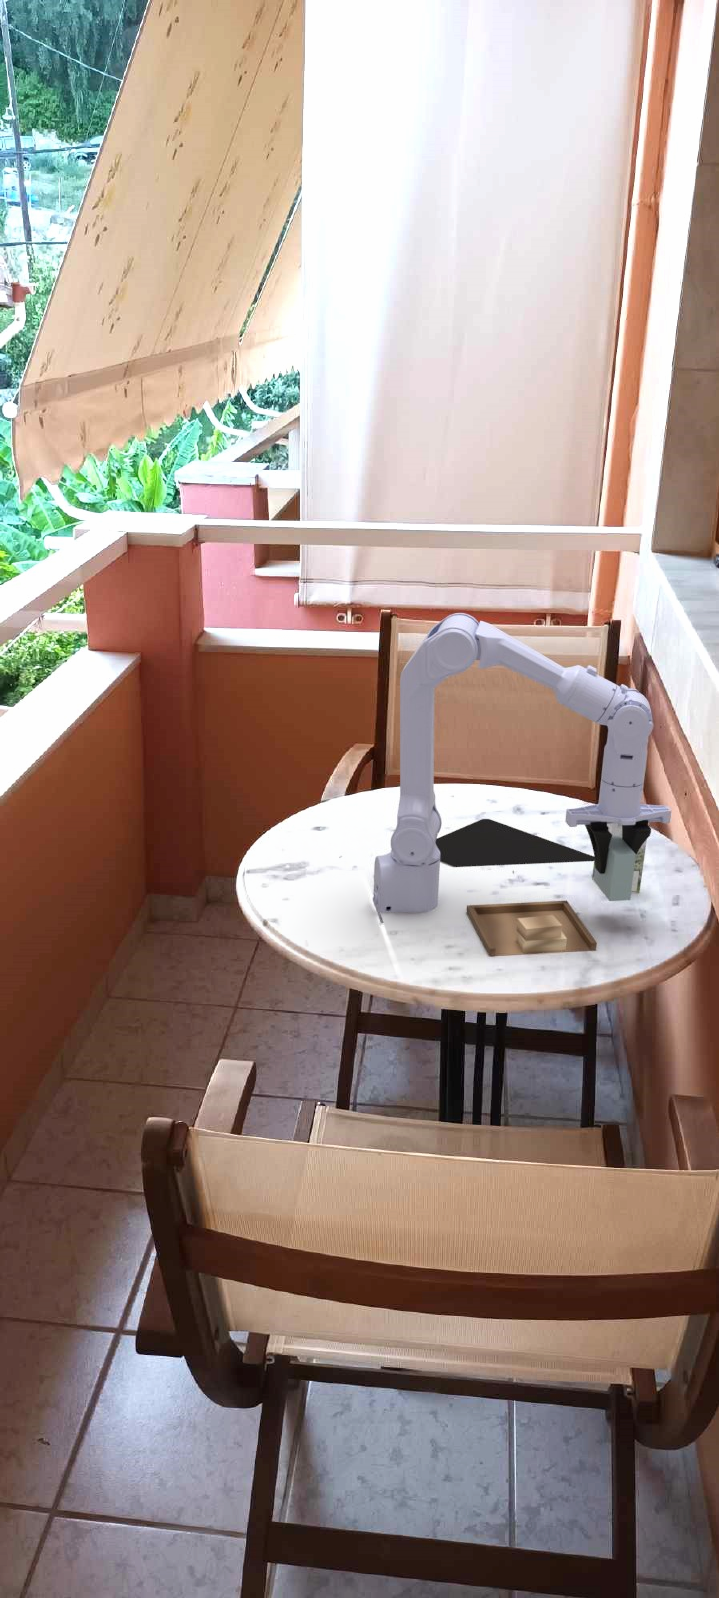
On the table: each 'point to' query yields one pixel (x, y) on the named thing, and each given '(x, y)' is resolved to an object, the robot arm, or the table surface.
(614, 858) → the sage green tall block
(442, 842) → the tablet
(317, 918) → the table surface
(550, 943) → the offcut lower
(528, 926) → the offcut upper
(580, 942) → the brown wooden tray
